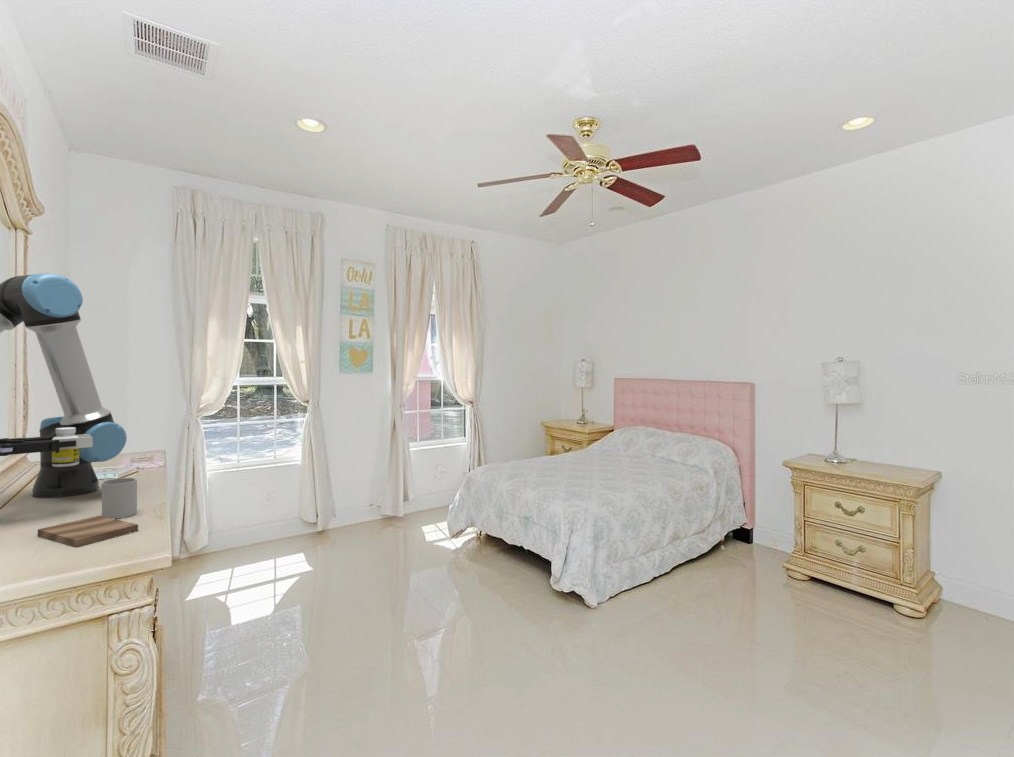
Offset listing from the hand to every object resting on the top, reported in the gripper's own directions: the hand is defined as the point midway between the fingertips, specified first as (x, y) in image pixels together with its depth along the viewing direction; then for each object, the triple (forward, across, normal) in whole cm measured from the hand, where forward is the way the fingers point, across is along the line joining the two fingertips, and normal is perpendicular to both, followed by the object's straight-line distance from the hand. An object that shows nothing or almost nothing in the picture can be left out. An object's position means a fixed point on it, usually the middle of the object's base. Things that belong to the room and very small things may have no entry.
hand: (91, 440), depth 135 cm
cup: (+5, +11, -19) cm, 22 cm away
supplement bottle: (-5, 0, -6) cm, 8 cm away
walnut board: (-2, +26, -18) cm, 32 cm away
